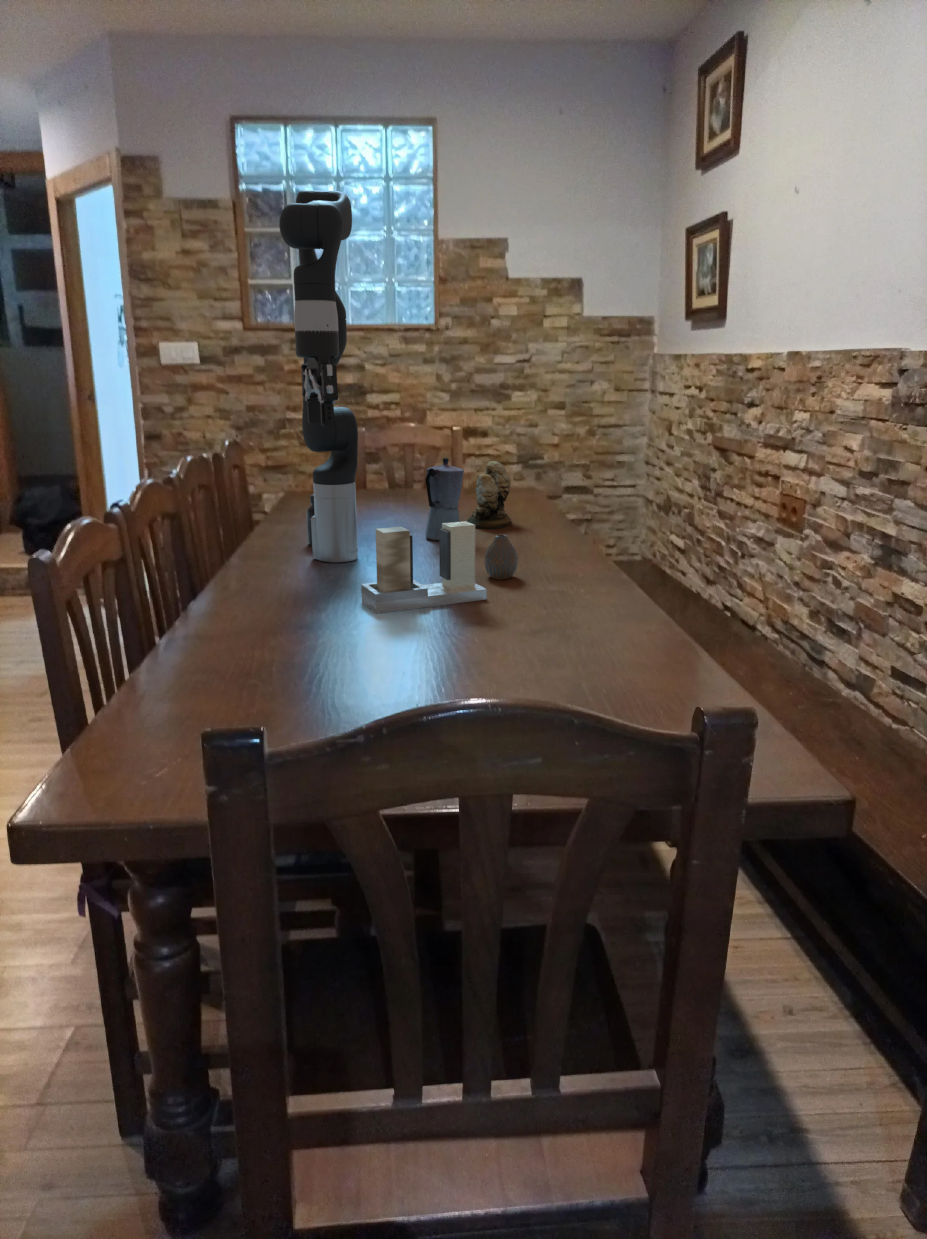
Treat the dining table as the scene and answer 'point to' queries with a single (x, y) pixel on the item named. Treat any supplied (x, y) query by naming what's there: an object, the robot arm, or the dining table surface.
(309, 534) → the supplement bottle
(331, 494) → the robot arm
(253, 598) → the dining table surface
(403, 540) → the tall beige block
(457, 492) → the moka pot
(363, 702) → the dining table surface
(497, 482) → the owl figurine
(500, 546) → the vase
